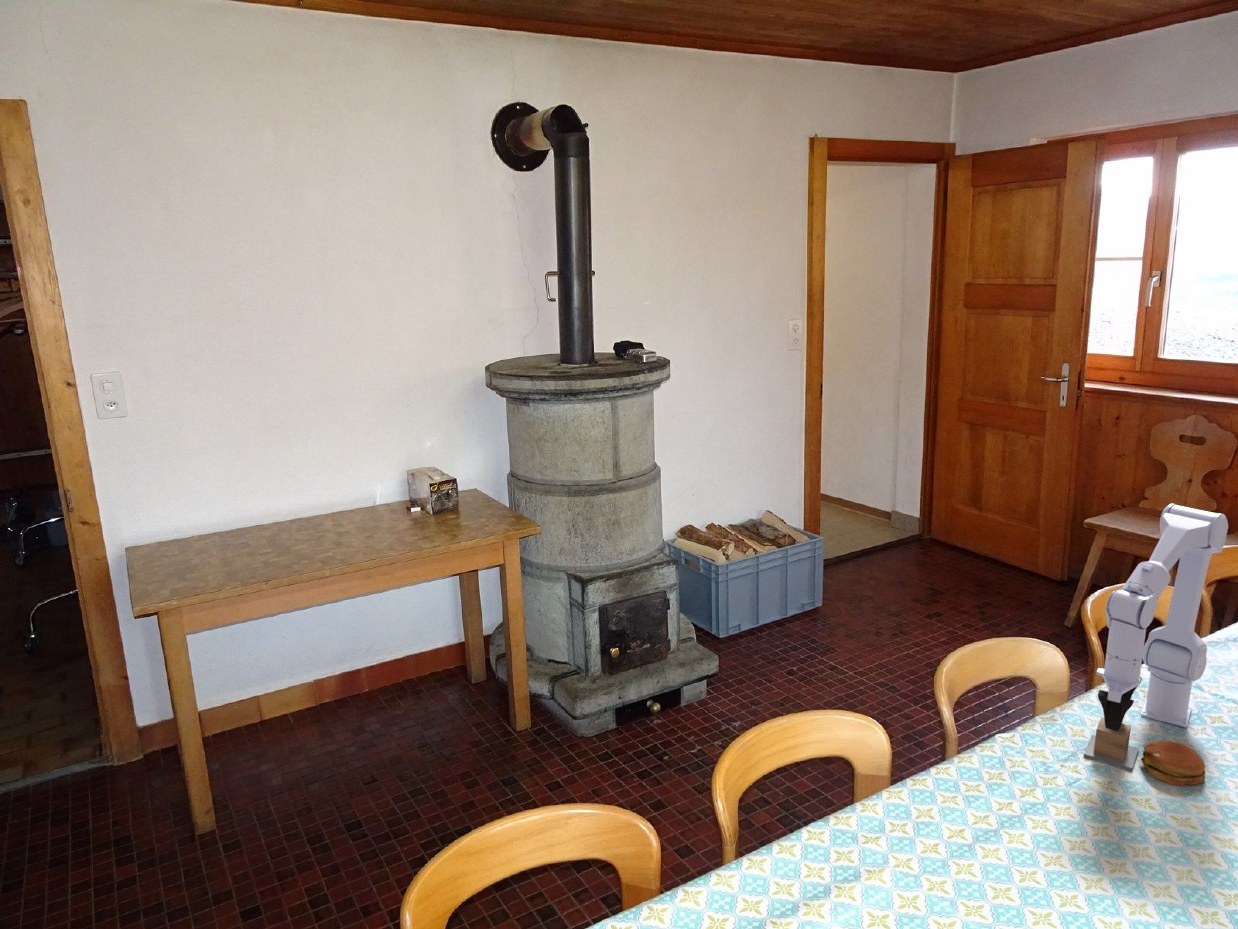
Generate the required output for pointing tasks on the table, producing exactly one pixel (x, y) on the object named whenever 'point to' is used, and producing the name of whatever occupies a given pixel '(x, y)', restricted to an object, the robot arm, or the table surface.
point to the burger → (1173, 763)
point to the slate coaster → (1125, 764)
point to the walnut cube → (1112, 741)
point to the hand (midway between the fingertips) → (1115, 719)
